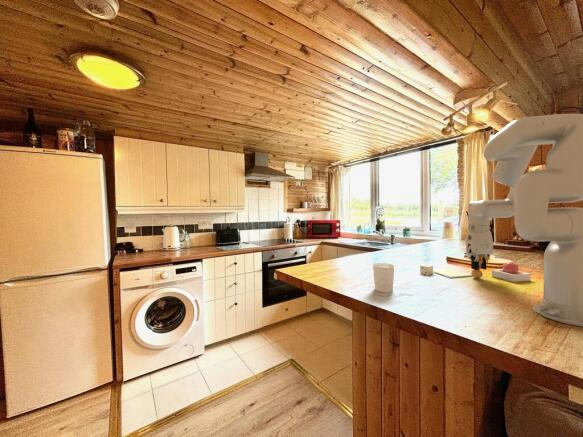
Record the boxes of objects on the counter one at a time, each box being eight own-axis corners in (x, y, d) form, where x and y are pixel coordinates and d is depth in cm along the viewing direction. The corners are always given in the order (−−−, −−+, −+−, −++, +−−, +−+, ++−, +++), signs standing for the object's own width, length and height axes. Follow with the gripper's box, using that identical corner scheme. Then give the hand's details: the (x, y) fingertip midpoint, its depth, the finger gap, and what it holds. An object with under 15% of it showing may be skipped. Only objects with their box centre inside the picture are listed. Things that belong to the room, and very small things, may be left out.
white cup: (373, 292, 92) (373, 267, 92) (373, 286, 99) (372, 262, 99) (395, 294, 90) (395, 268, 89) (393, 287, 97) (392, 263, 97)
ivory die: (427, 275, 113) (427, 266, 113) (419, 273, 117) (419, 264, 116) (432, 273, 115) (432, 265, 115) (424, 272, 119) (424, 263, 119)
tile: (450, 278, 107) (450, 276, 107) (430, 271, 119) (430, 270, 119) (472, 276, 109) (472, 274, 109) (451, 269, 121) (451, 268, 121)
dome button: (512, 275, 101) (512, 263, 101) (499, 272, 106) (499, 261, 106) (521, 274, 102) (521, 263, 102) (509, 271, 107) (509, 260, 107)
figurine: (465, 276, 110) (463, 250, 109) (476, 274, 110) (475, 249, 110) (482, 281, 101) (480, 254, 101) (493, 279, 102) (492, 252, 102)
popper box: (513, 282, 99) (513, 275, 99) (491, 276, 108) (491, 270, 108) (530, 280, 100) (530, 273, 100) (507, 275, 109) (507, 268, 109)
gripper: (470, 230, 100) (471, 272, 101) (502, 228, 103) (502, 269, 104) (455, 228, 107) (455, 268, 108) (485, 227, 110) (485, 265, 111)
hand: (478, 268), depth 106 cm, fingers closed on figurine, 3 cm apart
